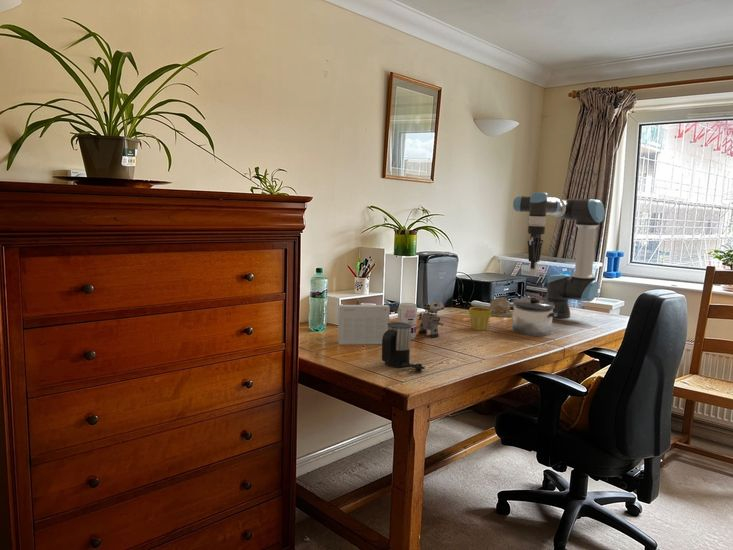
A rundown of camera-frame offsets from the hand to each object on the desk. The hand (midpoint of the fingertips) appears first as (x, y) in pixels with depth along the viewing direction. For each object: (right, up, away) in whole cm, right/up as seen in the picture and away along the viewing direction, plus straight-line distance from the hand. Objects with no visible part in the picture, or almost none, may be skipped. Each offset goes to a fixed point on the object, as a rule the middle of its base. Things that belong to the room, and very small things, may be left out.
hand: (533, 275), depth 264 cm
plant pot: (-25, -26, +5) cm, 36 cm away
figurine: (-50, -27, -13) cm, 58 cm away
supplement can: (-62, -28, -21) cm, 71 cm away
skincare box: (-81, -28, -32) cm, 91 cm away
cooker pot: (+1, -27, +4) cm, 27 cm away
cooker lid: (+1, -15, +2) cm, 15 cm away
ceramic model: (-6, -22, +42) cm, 47 cm away
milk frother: (-65, -33, -64) cm, 97 cm away
